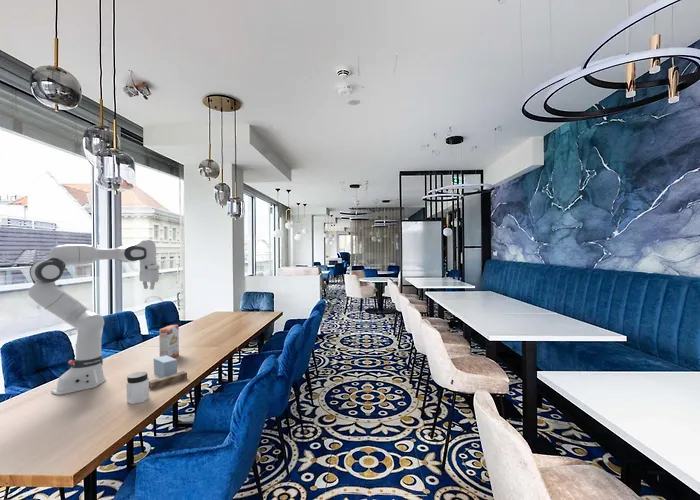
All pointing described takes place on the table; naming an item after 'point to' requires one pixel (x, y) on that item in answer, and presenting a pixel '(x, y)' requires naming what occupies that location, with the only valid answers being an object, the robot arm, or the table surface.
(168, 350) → the cracker box
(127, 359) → the table surface
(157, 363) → the brick
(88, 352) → the robot arm
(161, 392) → the table surface
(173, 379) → the board
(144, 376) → the jar
